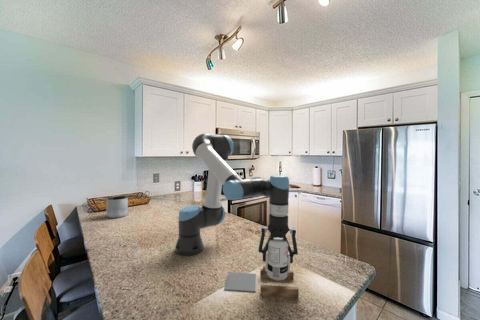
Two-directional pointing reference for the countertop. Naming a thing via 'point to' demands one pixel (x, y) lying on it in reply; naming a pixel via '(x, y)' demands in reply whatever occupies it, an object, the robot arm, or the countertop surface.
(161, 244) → the countertop surface
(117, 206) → the planter
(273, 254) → the supplement can
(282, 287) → the cradle
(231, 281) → the mat
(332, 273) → the countertop surface
